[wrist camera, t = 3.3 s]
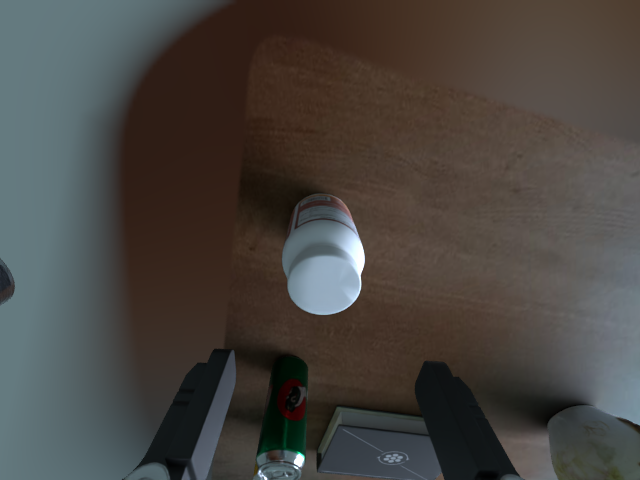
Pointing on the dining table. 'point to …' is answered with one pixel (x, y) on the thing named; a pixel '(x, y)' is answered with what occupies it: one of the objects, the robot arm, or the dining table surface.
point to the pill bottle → (322, 255)
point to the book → (377, 446)
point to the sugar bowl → (593, 445)
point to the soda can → (284, 422)
